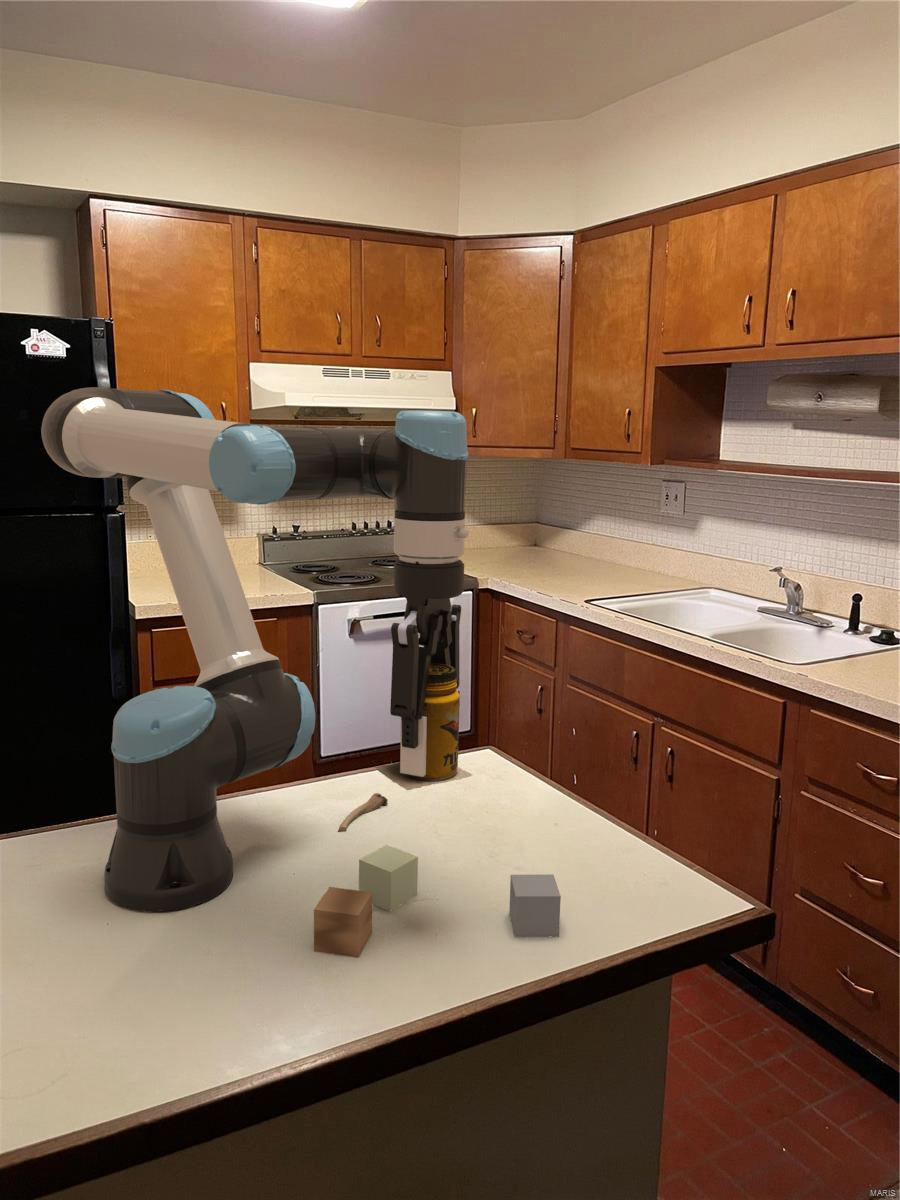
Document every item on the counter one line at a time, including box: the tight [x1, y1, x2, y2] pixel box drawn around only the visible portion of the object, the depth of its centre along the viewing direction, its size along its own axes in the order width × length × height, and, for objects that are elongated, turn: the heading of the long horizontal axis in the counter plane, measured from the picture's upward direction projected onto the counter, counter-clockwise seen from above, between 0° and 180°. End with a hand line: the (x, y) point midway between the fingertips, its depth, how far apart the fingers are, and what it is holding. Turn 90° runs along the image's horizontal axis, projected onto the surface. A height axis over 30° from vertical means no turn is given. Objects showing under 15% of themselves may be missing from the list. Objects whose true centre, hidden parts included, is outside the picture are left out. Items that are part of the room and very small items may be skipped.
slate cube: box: [508, 874, 562, 938], centre depth 103 cm, size 5×5×5 cm
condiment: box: [374, 663, 473, 791], centre depth 99 cm, size 7×8×12 cm
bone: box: [337, 792, 388, 833], centre depth 131 cm, size 3×11×2 cm, turn 151°
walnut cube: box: [313, 886, 373, 959], centre depth 99 cm, size 5×5×5 cm
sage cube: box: [358, 844, 419, 912], centre depth 109 cm, size 5×5×5 cm
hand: (425, 763), depth 101 cm, fingers closed on condiment, 6 cm apart
